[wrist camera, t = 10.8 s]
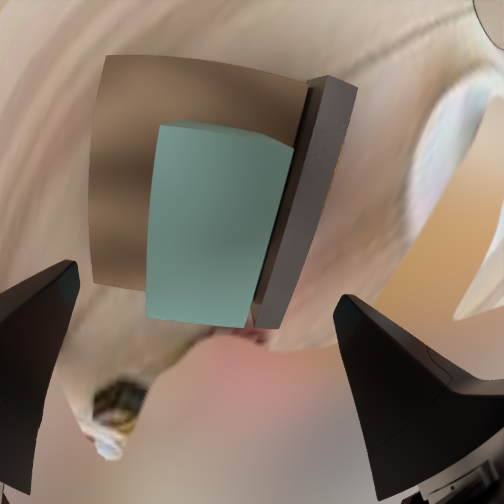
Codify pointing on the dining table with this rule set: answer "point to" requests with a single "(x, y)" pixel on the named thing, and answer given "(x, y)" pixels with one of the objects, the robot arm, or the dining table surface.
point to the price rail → (303, 195)
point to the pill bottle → (492, 19)
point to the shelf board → (146, 135)
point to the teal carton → (210, 220)
